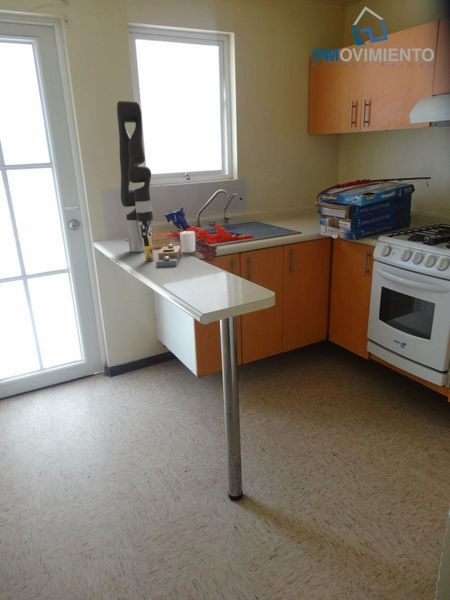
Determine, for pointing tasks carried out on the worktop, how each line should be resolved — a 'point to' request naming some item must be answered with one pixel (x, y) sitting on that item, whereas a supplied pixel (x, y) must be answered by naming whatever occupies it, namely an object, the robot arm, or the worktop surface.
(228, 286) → the worktop surface
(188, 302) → the worktop surface
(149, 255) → the brass pin
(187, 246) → the white cup
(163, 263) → the tan and grey block
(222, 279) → the worktop surface
